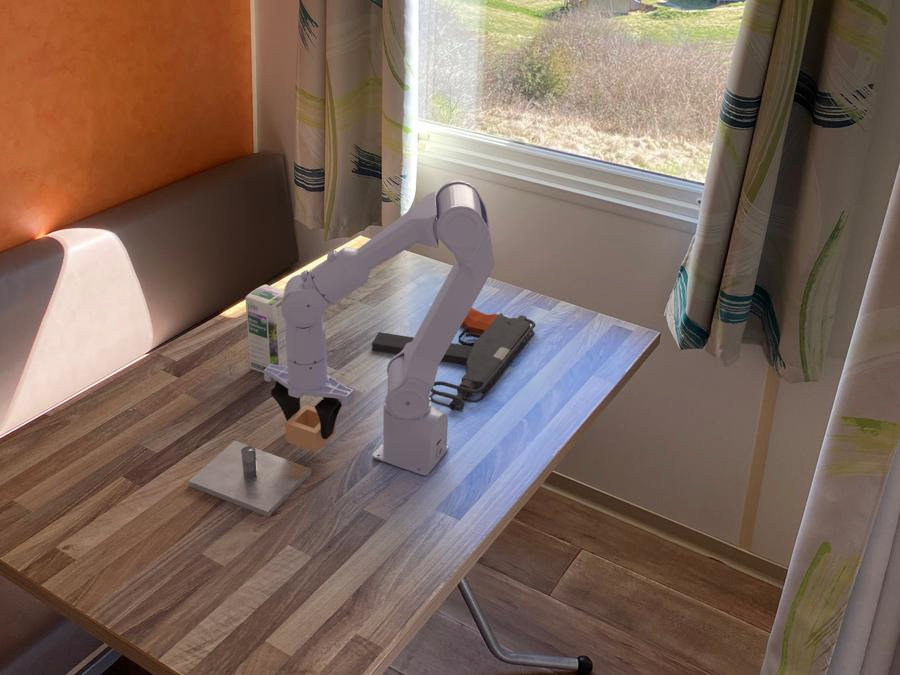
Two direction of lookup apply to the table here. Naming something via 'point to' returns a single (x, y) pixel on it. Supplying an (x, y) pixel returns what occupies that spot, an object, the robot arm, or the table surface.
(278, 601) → the table surface
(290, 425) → the ring
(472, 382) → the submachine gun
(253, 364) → the syrup box
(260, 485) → the plate
